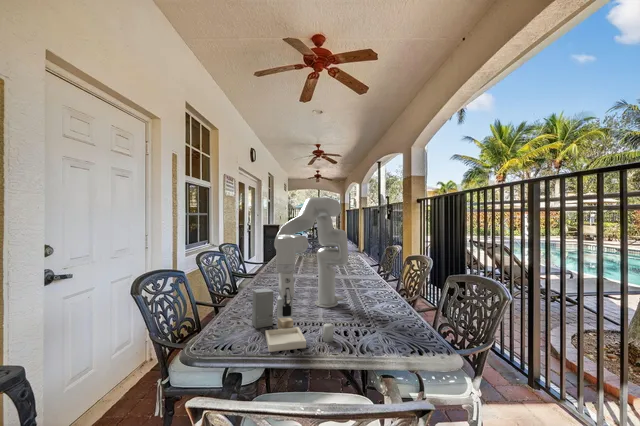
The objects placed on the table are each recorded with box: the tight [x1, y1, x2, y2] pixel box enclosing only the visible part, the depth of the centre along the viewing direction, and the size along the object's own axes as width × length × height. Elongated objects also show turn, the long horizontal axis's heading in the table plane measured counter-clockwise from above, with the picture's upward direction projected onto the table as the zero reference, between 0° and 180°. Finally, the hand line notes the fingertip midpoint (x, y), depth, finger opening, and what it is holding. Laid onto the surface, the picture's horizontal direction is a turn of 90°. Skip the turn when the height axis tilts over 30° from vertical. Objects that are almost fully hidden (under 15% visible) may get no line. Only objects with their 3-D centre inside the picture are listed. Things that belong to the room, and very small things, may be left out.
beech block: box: [277, 318, 294, 329], centre depth 128 cm, size 5×5×5 cm
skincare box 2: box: [276, 294, 294, 319], centre depth 117 cm, size 6×6×7 cm
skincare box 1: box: [251, 288, 274, 329], centre depth 134 cm, size 8×7×16 cm
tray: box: [264, 326, 307, 353], centre depth 117 cm, size 14×14×2 cm
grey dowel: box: [322, 323, 334, 343], centre depth 119 cm, size 4×4×6 cm
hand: (285, 312), depth 117 cm, fingers closed on skincare box 2, 6 cm apart
